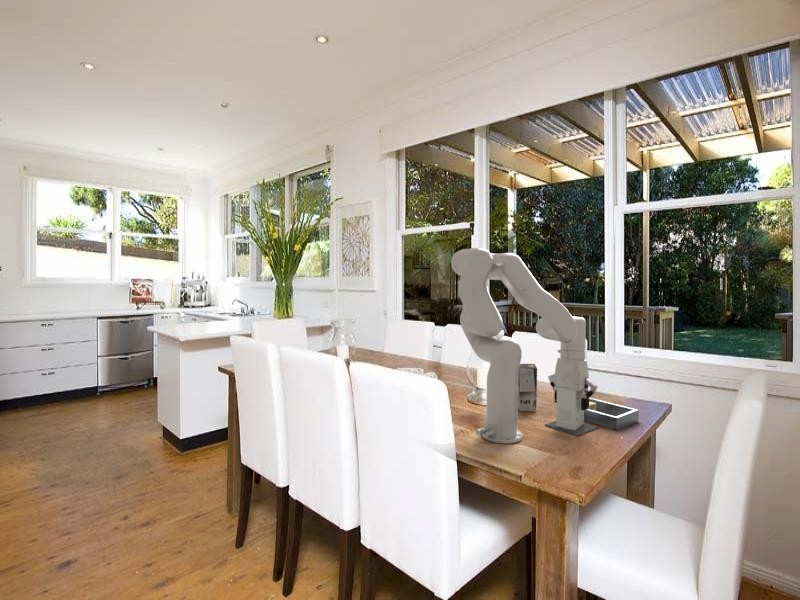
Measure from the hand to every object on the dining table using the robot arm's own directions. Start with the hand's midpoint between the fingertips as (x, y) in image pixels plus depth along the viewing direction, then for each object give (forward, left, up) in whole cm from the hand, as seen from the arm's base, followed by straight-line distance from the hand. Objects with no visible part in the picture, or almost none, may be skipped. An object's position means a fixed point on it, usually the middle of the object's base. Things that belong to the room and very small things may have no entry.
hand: (571, 405), depth 146 cm
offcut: (+16, +4, -7) cm, 18 cm away
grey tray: (+16, -1, -7) cm, 18 cm away
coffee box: (+5, +22, -7) cm, 24 cm away
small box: (0, 0, -7) cm, 7 cm away
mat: (0, 0, -7) cm, 7 cm away
